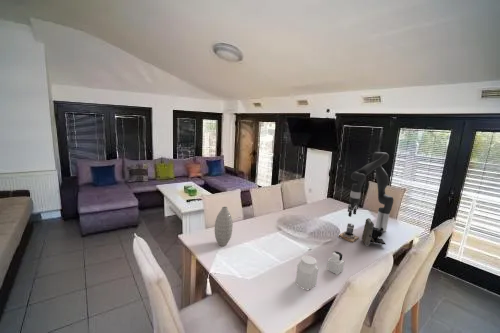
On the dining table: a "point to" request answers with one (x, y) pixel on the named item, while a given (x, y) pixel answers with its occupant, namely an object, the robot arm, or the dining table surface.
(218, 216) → the vase
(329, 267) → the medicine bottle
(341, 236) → the mount
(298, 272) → the jar
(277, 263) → the dining table surface
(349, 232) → the lens
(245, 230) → the dining table surface
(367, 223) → the vintage camera
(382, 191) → the robot arm
